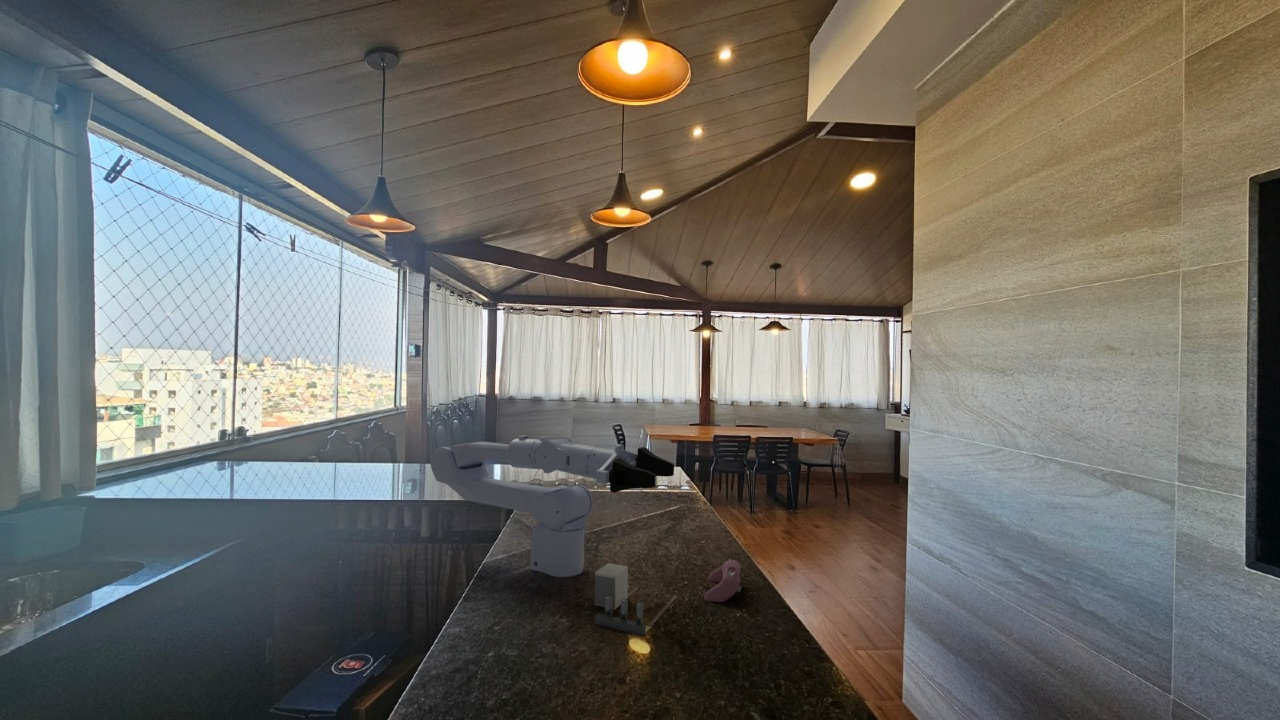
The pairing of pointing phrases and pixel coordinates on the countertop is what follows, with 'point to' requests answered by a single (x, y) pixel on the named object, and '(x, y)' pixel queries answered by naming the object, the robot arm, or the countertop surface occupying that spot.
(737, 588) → the video game controller
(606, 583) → the plug block
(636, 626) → the header
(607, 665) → the countertop surface
